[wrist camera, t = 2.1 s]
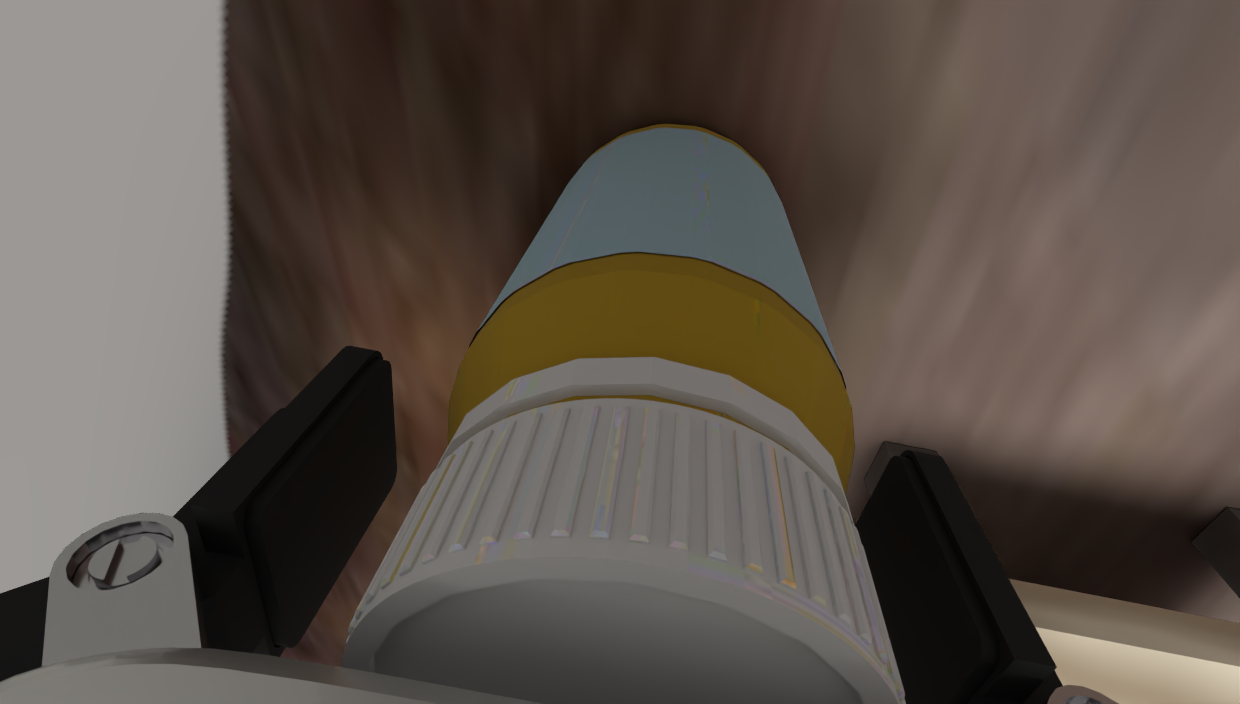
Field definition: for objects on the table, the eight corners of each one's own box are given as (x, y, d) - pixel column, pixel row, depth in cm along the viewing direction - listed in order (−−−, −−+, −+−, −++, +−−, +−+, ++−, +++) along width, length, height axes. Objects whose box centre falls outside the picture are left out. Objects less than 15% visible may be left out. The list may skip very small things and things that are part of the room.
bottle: (635, 358, 22) (546, 886, 9) (519, 195, 19) (165, 637, 6) (818, 271, 19) (1042, 840, 7) (715, 68, 16) (768, 389, 4)
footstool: (876, 429, 22) (945, 609, 16) (1304, 510, 22) (1544, 725, 16) (757, 662, 31) (772, 837, 25) (1063, 721, 31) (1156, 914, 25)
